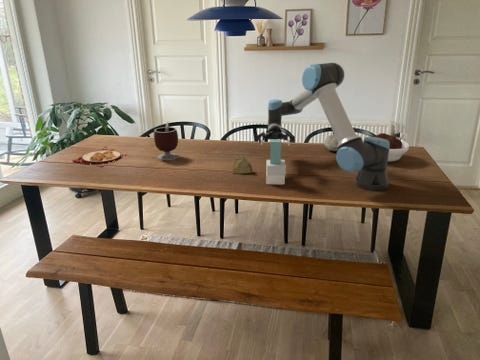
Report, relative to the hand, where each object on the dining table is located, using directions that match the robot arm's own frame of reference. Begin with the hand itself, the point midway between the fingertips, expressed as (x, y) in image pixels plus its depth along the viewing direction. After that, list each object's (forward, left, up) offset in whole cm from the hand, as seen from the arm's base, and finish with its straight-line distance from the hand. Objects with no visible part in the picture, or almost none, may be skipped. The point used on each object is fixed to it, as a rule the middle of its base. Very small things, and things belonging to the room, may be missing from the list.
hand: (275, 142), depth 189 cm
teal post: (-3, +3, -9) cm, 10 cm away
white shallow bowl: (-21, -68, -19) cm, 74 cm away
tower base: (-4, +3, -19) cm, 19 cm away
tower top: (-4, +3, -14) cm, 15 cm away
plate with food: (+92, +53, -19) cm, 108 cm away
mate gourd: (+68, +23, -19) cm, 74 cm away
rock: (+17, +7, -19) cm, 26 cm away
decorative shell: (+7, -63, -19) cm, 66 cm away
